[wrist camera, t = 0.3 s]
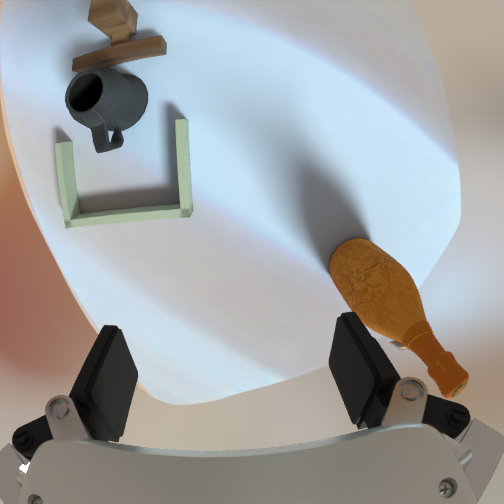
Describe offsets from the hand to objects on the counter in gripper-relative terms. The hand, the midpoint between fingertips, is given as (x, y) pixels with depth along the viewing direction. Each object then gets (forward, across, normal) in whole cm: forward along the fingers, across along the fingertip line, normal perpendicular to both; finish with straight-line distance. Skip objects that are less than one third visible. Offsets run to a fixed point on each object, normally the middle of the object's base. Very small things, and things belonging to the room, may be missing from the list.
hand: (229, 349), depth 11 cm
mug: (+31, +15, -15) cm, 37 cm away
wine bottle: (+31, -21, +12) cm, 39 cm away
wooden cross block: (+31, +15, -27) cm, 44 cm away
